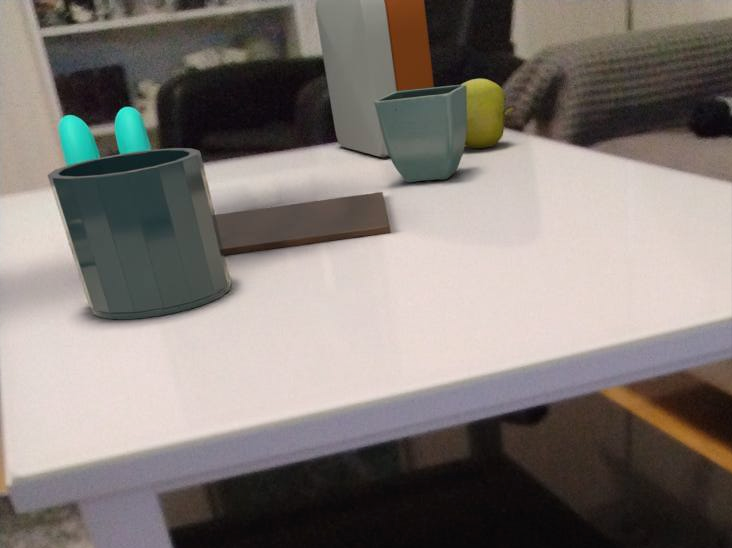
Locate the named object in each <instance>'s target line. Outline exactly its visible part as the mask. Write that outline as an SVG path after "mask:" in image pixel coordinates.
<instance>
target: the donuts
mask: <svg viewBox="0 0 732 548" xmlns="http://www.w3.org/2000/svg"><path fill="white" fill-rule="evenodd" d="M114 134H115V140H116V144H117V145H116V146H117V150H118V154H124V153H131V152H139V151H146V150H152V145H151V143H150V139H149V136H148V132H147V129H146V125H145V122H144V119H143V116H142V115H141V113H140V112H139V111H138V110H137V109H136V108H134V107H132V106H124V107H122V108H120V109H119V110H118V112H117V113H116V116H115V118H114ZM58 135H59V141H60V145H61V150H62V154H63V157H64V161H65V165H66V166H68V165H71V164H75V163H79V162H83V161H88V160H92V159H96V158H101V155H100V152H99V149H98V145H97V143H96V139H95V136H94V135H93V132H92V130H91V129H90V127H89V126H88V125H87V123H86V122H85V121H84V120H83V119H82V118H80V117H79V116H76V115H73V114H68V115H64V116H63V117H62V118H61V119H60V121H59V123H58Z"/></svg>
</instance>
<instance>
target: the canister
mask: <svg viewBox="0 0 732 548" xmlns="http://www.w3.org/2000/svg"><path fill="white" fill-rule="evenodd" d="M201 153H202V152H201V151H200V150H198V149H195V148H190V147H189V148H187V147H186V148H185V147H170V148H169V147H168V148H157V149H151V150H146V151H139V152H131V153H124V154H120V153H118V154H114V155H107V156H102V157H101V156H100V158H96V159H92V160H88V161H83V162H79V163H75V164H71V165H68V166H67V165H66V166H62V167H60V168H56V169H53V171H51V172H49V173H48V174H47V179H48V182H49V185H50V188H51V192H52V194H53V197H54V200H55V204H56V207H57V210H58V213H59V216H60V219H61V222H62V226H63V229H64V232H65V235H66V238H67V240H68V244H69V248H70V251H71V254H72V257H73V261H74V264H75V267H76V271H77V273H78V277H79V280H80V283H81V286H82V289H83V292H84V295H85V298H86V303H87V305H88V306H89V308H90V311H91V313H92V314H93V315H94V316H96V317H99V318H102V319H107V320H108V319H109V320H137V319H147V318H155V317H160V316H165V315H171V314H176V313H180V312H185V311H189V310H191V309H196V308H198V307H201V306H204V305H206V304H209V303H211V302H213V301H216V300H219V298H221V297H223V296H225V295H226V294H227V293H228V292H229V291H231V290H230V289H231V285H232V284H231V275H230V272H229V268H228V263H227V259H226V255H225V254H224V250H223V246H222V242H221V237H220V233H219V229H218V225H217V220H216V216H215V215H216V212H215V208H214V203H213V200H212V194H211V192H210V187H209V182H208V179H207V173H206V171H205V165H204V161H203V157H202V154H201Z"/></svg>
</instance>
